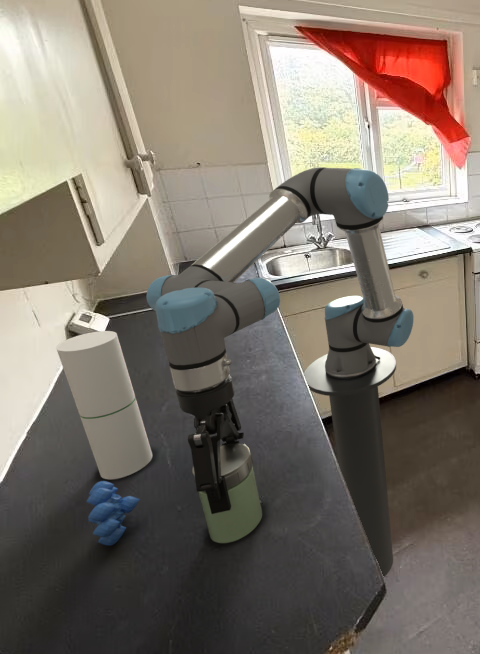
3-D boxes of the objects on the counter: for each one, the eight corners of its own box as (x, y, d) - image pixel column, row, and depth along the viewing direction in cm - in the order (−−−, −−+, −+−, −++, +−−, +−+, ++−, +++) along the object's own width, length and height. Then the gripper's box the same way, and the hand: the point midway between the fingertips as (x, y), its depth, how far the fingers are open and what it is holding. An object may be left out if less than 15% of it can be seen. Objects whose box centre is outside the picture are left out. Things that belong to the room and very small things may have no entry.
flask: (260, 497, 84) (248, 441, 80) (264, 528, 78) (252, 469, 74) (209, 517, 80) (194, 459, 76) (209, 552, 73) (193, 490, 69)
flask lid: (203, 501, 70) (200, 487, 69) (189, 474, 75) (186, 461, 74) (259, 472, 76) (257, 458, 75) (243, 449, 81) (240, 436, 80)
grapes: (149, 546, 74) (132, 492, 70) (96, 571, 70) (75, 515, 66) (145, 505, 82) (130, 454, 78) (98, 525, 78) (79, 472, 74)
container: (93, 468, 91) (49, 343, 81) (143, 445, 98) (107, 327, 88) (109, 485, 86) (64, 355, 77) (159, 459, 93) (124, 337, 84)
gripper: (208, 415, 61) (236, 534, 68) (246, 348, 80) (265, 446, 87) (146, 425, 59) (181, 547, 66) (200, 354, 78) (223, 454, 85)
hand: (229, 489), depth 76 cm, fingers closed on flask lid, 8 cm apart
